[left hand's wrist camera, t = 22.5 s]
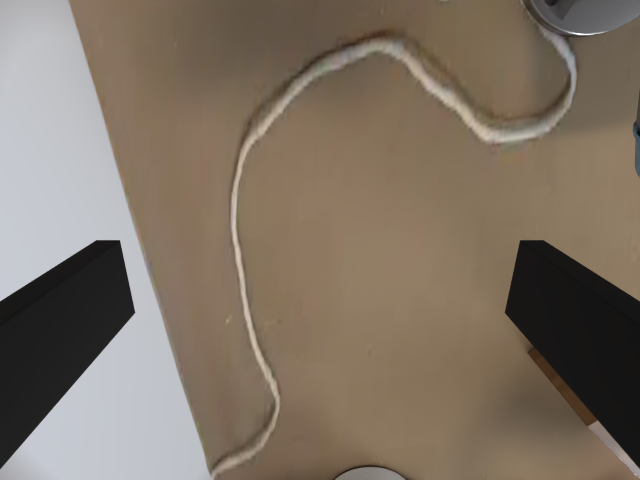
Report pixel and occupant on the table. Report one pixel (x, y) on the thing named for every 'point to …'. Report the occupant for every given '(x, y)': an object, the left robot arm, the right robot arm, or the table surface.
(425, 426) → the table surface
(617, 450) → the box
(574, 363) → the left robot arm
